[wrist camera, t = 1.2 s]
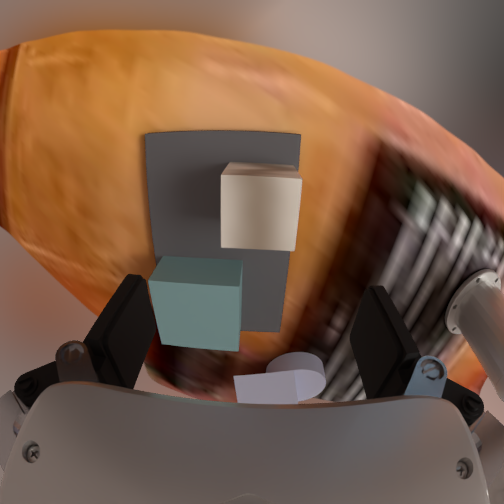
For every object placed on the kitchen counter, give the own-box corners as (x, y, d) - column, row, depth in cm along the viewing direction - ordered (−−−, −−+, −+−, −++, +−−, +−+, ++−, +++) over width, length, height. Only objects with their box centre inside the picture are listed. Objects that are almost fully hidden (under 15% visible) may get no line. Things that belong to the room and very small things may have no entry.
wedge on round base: (247, 390, 43) (323, 381, 42) (245, 423, 37) (328, 414, 36) (235, 358, 39) (322, 347, 38) (231, 394, 33) (329, 384, 32)
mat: (299, 134, 24) (301, 134, 24) (279, 327, 36) (279, 332, 35) (148, 133, 25) (145, 134, 24) (168, 319, 36) (166, 324, 35)
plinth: (242, 260, 30) (239, 286, 26) (241, 322, 34) (238, 351, 30) (162, 255, 30) (148, 280, 26) (172, 316, 34) (161, 343, 30)
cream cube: (293, 165, 25) (302, 178, 20) (288, 223, 28) (294, 251, 22) (229, 162, 25) (220, 174, 20) (228, 220, 28) (221, 247, 23)
